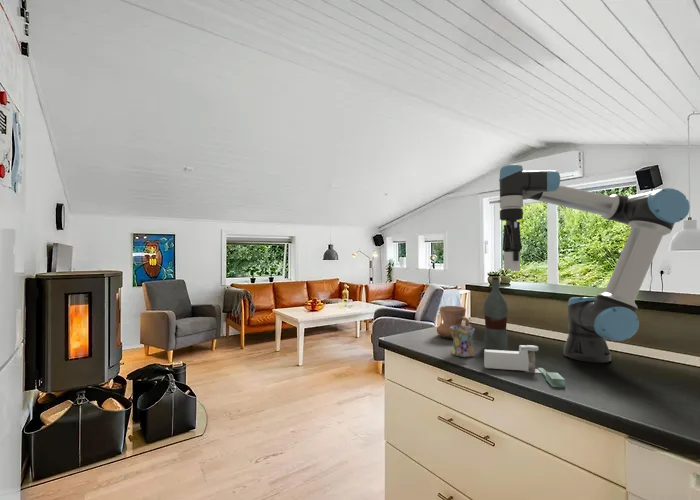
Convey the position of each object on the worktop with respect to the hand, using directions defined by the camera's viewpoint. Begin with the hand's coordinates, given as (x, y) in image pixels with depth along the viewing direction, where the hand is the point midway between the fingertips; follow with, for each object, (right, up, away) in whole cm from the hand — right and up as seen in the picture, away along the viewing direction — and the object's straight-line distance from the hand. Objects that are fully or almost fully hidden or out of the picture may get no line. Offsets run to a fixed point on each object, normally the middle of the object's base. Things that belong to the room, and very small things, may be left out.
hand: (511, 270), depth 125 cm
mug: (-14, -34, +13) cm, 39 cm away
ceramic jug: (-9, -35, +41) cm, 54 cm away
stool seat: (+1, -34, -6) cm, 34 cm away
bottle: (+3, -34, +21) cm, 40 cm away
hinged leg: (-3, -33, -5) cm, 34 cm away
